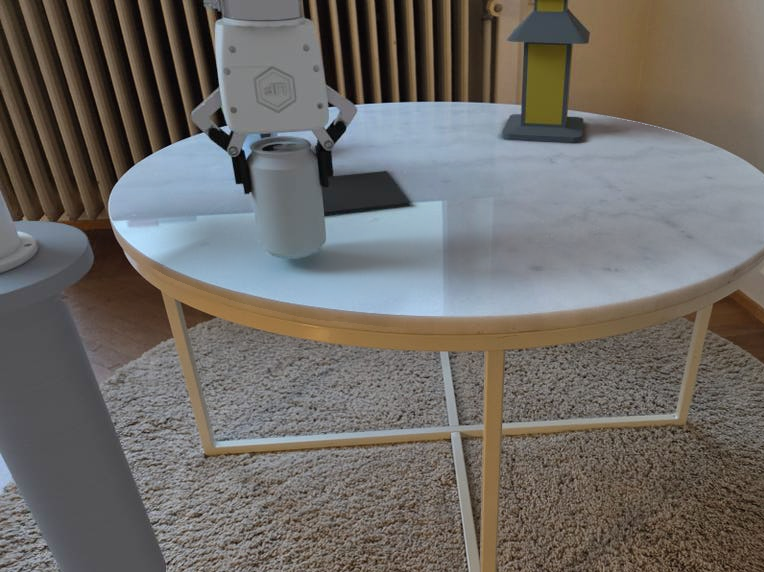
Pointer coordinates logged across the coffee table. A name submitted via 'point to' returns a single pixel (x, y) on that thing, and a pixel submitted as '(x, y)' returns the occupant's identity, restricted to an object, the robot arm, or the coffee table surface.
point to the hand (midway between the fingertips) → (286, 185)
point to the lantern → (547, 74)
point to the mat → (361, 193)
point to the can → (286, 196)
